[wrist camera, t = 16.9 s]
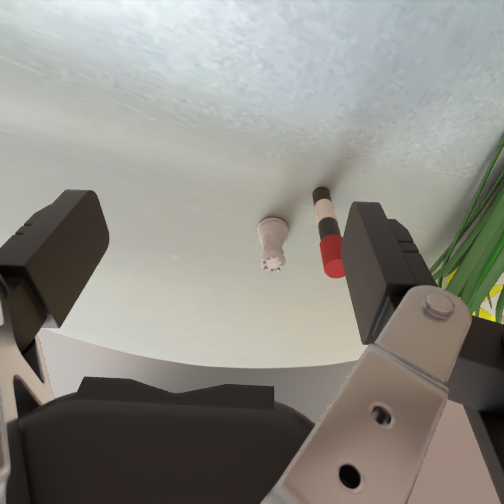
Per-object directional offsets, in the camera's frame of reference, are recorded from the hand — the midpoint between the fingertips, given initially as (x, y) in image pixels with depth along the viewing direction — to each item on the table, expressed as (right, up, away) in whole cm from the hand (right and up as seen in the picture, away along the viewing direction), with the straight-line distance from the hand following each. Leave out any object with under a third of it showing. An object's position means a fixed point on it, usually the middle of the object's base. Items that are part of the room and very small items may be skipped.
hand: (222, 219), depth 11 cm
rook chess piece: (+4, +2, +37) cm, 37 cm away
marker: (+10, +7, +33) cm, 35 cm away
